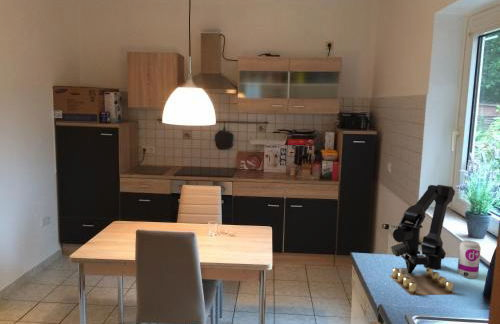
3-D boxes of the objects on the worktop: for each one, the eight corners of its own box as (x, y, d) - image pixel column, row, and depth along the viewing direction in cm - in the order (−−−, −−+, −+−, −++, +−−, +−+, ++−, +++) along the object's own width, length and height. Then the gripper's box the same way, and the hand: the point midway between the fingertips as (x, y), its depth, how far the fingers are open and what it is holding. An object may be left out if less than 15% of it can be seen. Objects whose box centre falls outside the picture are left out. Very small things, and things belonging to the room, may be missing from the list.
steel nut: (407, 272, 186) (407, 267, 186) (413, 275, 180) (413, 270, 180) (396, 272, 185) (396, 267, 185) (403, 275, 180) (403, 270, 180)
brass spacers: (430, 276, 179) (430, 267, 179) (453, 293, 162) (454, 283, 161) (391, 276, 178) (391, 267, 177) (410, 294, 160) (411, 284, 160)
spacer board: (428, 276, 181) (429, 274, 181) (455, 296, 161) (455, 294, 161) (388, 277, 179) (388, 275, 179) (410, 297, 159) (410, 295, 159)
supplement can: (480, 279, 179) (483, 246, 178) (460, 277, 181) (463, 244, 179) (474, 272, 187) (477, 240, 185) (454, 271, 189) (457, 239, 187)
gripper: (385, 232, 186) (382, 266, 188) (404, 245, 168) (401, 282, 169) (408, 232, 187) (406, 265, 189) (430, 245, 169) (427, 281, 170)
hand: (409, 273), depth 179 cm, fingers closed
